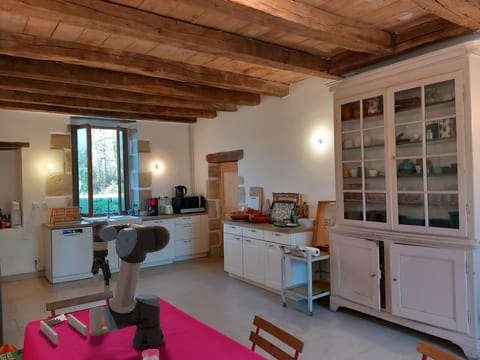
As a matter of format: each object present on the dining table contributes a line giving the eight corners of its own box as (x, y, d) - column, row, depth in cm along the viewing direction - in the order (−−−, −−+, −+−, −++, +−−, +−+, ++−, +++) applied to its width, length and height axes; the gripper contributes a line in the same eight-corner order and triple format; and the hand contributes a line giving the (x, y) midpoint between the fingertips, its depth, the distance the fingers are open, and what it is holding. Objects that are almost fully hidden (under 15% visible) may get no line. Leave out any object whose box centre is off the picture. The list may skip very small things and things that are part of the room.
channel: (87, 335, 194) (86, 326, 194) (55, 344, 183) (55, 335, 183) (70, 321, 213) (69, 313, 213) (40, 329, 203) (40, 321, 203)
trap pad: (62, 323, 211) (62, 321, 211) (47, 326, 206) (47, 325, 206) (58, 319, 217) (58, 318, 217) (43, 322, 212) (43, 321, 212)
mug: (95, 335, 193) (95, 311, 192) (86, 332, 196) (86, 309, 196) (111, 328, 201) (110, 305, 201) (102, 325, 205) (102, 304, 205)
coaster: (114, 331, 198) (114, 330, 198) (93, 338, 191) (93, 336, 191) (106, 325, 206) (106, 324, 206) (85, 331, 199) (85, 330, 199)
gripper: (117, 251, 193) (118, 292, 193) (97, 245, 211) (98, 283, 211) (103, 253, 188) (104, 295, 188) (84, 247, 206) (85, 285, 206)
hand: (101, 289), depth 199 cm, fingers open, 13 cm apart
